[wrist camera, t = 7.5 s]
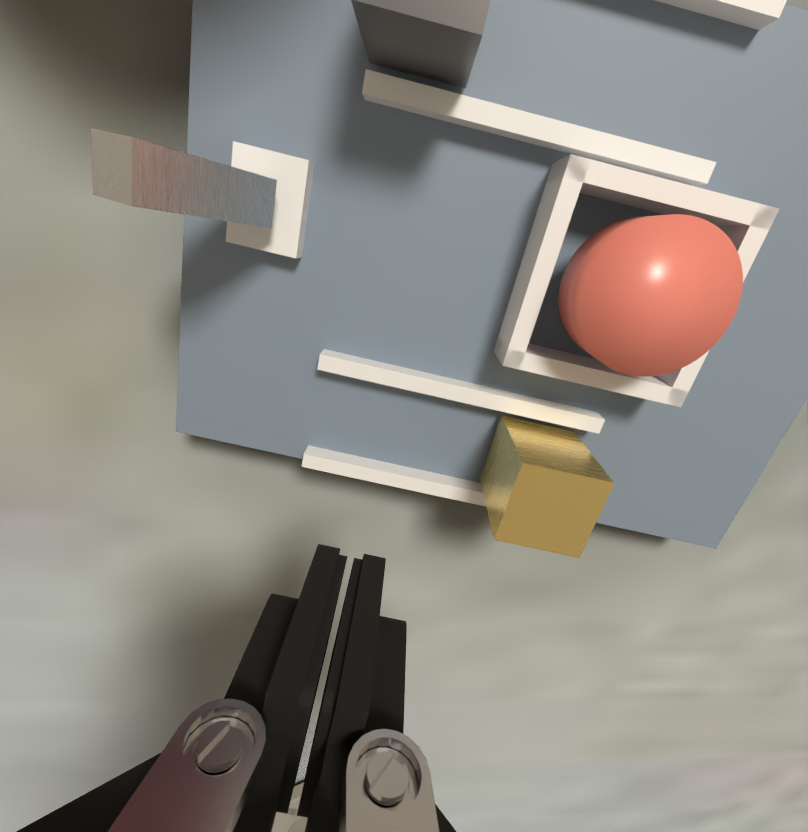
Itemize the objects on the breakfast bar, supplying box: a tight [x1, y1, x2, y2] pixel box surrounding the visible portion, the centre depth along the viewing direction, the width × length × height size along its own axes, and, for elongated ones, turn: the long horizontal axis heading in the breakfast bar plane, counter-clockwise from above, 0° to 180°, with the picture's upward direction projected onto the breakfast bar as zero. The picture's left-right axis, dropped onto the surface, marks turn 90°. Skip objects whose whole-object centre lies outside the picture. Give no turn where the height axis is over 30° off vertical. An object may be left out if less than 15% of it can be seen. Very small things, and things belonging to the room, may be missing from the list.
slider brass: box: [480, 415, 614, 558], centre depth 17 cm, size 3×3×4 cm
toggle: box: [91, 128, 277, 228], centre depth 12 cm, size 1×1×5 cm
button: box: [558, 214, 743, 377], centre depth 13 cm, size 4×4×2 cm
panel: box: [176, 0, 808, 549], centre depth 16 cm, size 18×24×4 cm
